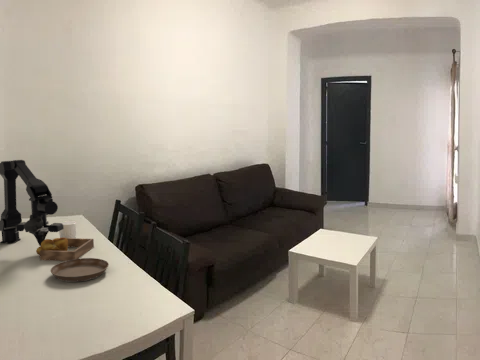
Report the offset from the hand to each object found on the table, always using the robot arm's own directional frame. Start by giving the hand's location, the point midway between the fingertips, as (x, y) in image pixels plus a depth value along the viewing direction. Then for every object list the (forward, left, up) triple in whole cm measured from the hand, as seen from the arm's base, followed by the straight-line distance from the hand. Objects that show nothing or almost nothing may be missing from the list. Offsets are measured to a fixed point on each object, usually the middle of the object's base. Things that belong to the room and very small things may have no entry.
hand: (41, 245), depth 173 cm
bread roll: (+6, -1, -3) cm, 7 cm away
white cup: (+5, +15, -3) cm, 16 cm away
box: (+12, 0, -3) cm, 13 cm away
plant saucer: (+28, -23, -4) cm, 37 cm away
